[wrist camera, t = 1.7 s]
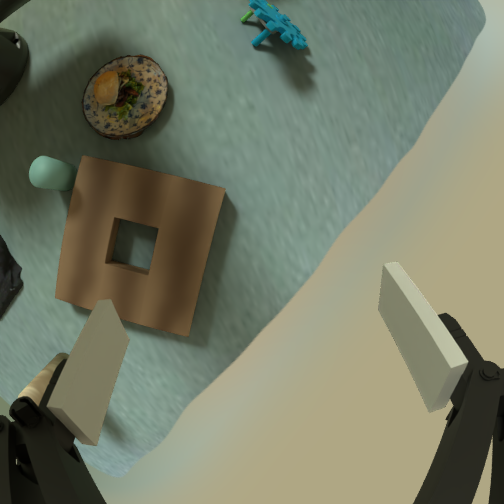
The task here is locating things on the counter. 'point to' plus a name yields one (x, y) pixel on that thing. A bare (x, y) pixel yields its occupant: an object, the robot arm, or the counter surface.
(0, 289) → the dark slate chunk
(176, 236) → the walnut hole board
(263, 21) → the gear
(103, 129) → the burger
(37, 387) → the long maple pin
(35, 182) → the short teal pin
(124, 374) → the counter surface
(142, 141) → the counter surface
